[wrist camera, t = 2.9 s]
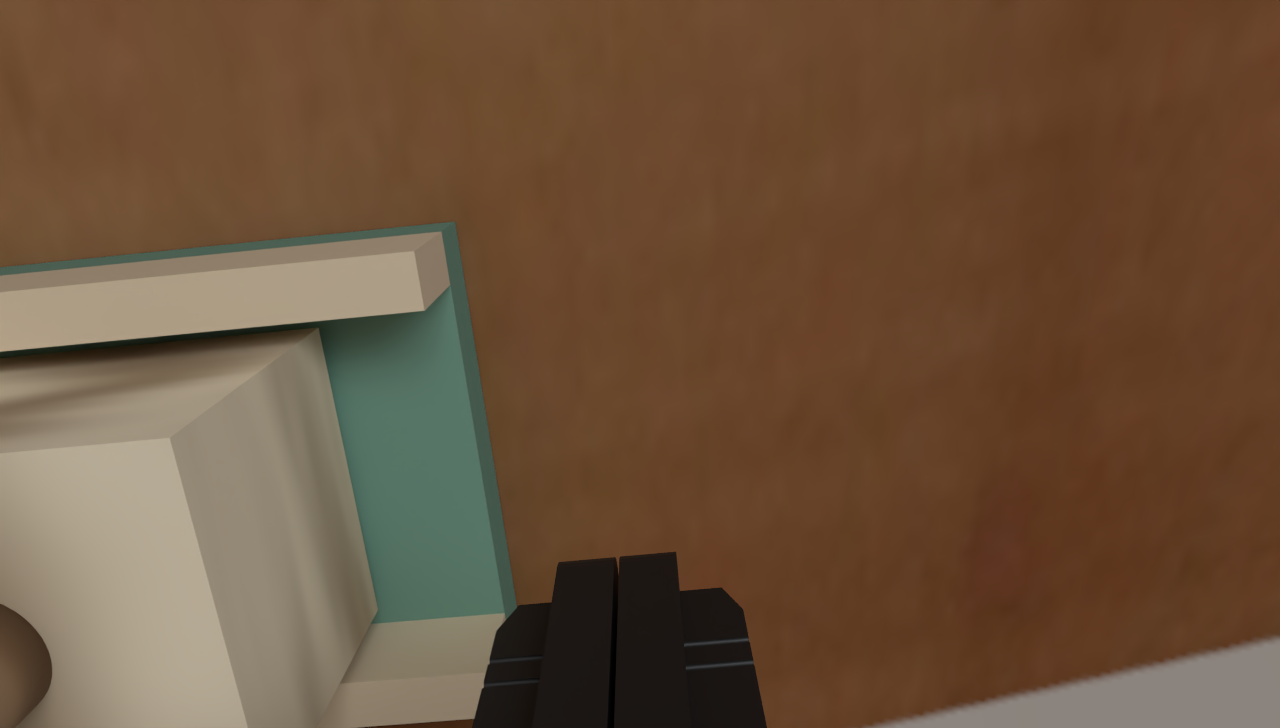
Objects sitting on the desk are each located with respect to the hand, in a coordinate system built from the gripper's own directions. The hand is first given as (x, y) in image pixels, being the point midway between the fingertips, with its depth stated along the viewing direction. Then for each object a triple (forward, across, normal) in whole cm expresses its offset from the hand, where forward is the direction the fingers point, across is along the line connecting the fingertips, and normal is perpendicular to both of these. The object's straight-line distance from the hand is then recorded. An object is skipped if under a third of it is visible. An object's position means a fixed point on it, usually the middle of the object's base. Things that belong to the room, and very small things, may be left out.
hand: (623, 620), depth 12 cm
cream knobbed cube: (+6, +9, 0) cm, 11 cm away
